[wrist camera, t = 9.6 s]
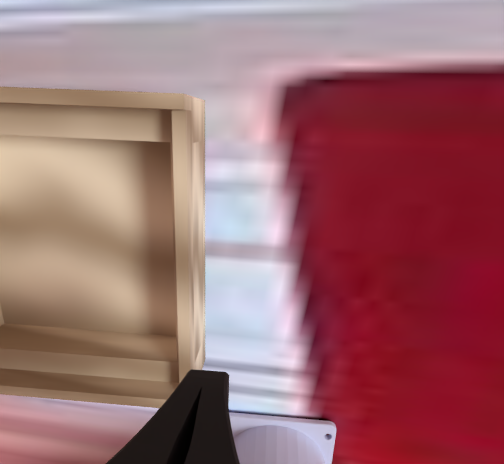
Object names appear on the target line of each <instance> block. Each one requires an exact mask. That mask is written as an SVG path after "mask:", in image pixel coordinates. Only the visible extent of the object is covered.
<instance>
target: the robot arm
mask: <svg viewBox="0 0 504 464" xmlns="http://www.w3.org/2000/svg"><path fill="white" fill-rule="evenodd" d="M228 396H229V375H228V374H227V373H226V372H218V371H206V370H193V369H191V370H190V371H188V372H187V374H186V375H185V377H184V378H183V380H182V381H181V382H180V384H179V385H178V386H177V388H176V389H175V390H174V392H173V393H172V394H171V395H170V397H169V398H168V399H167V400H166V402H165V403H164V404H163V405H162V406H161V408H160V409H159V410H158V411H157V412H156V414H155V415H154V416H153V417H152V418H151V419H150V420H149V421H148V422H147V423H146V425H145V426H144V427H143V428H142V429H141V430H140V431H139V432H138V433H137V434H136V435H135V436H134V437H133V438H132V439H131V440H130V441H129V442H128V443H127V444H126V445H125V446H124V447H123V448H122V449H121V450H120V451H119V452H118V453H117V454H116V455H115V456H114V457H113V458H111V459H110V460H109V461H108V462H107V463H106V464H332V457H333V450H334V443H335V436H336V426H335V424H334V423H333V422H331V421H323V420H312V419H300V418H289V417H277V416H266V415H254V414H243V413H231V412H229V409H228ZM326 434H329V435H326Z"/></svg>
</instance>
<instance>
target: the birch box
mask: <svg viewBox="0 0 504 464" xmlns="http://www.w3.org/2000/svg"><path fill="white" fill-rule="evenodd" d="M204 361H205V100H202V99H198V98H195V97H192V96H189V95H186V94H176V93H150V92H123V91H97V90H71V89H45V88H18V87H0V394H5V395H16V396H28V397H39V398H51V399H62V400H74V401H85V402H97V403H108V404H120V405H131V406H143V407H154V408H161V406H162V405H163V404H164V403H165V402H166V400H167V399H168V398H169V397H170V395H171V394H172V393H173V392H174V390H175V389H176V388H177V386H178V385H179V384H180V382H181V381H182V380H183V378H184V377H185V375H186V374H187V372H188V371H190V370H191V369H193V370H202V368H203V364H204Z"/></svg>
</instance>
